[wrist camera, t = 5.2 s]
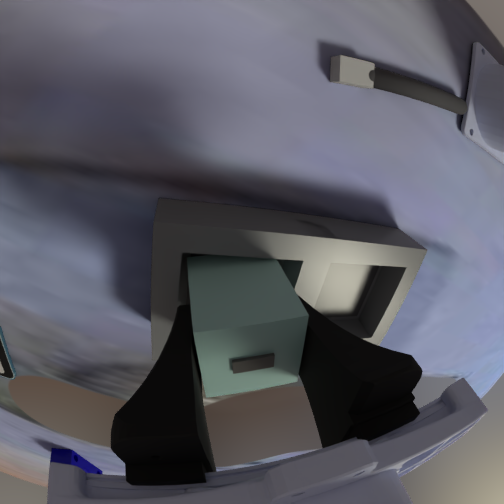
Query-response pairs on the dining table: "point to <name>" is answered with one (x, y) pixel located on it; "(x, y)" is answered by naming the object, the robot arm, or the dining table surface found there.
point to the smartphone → (5, 360)
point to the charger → (245, 323)
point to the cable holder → (73, 460)
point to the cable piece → (391, 83)
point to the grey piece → (286, 261)
